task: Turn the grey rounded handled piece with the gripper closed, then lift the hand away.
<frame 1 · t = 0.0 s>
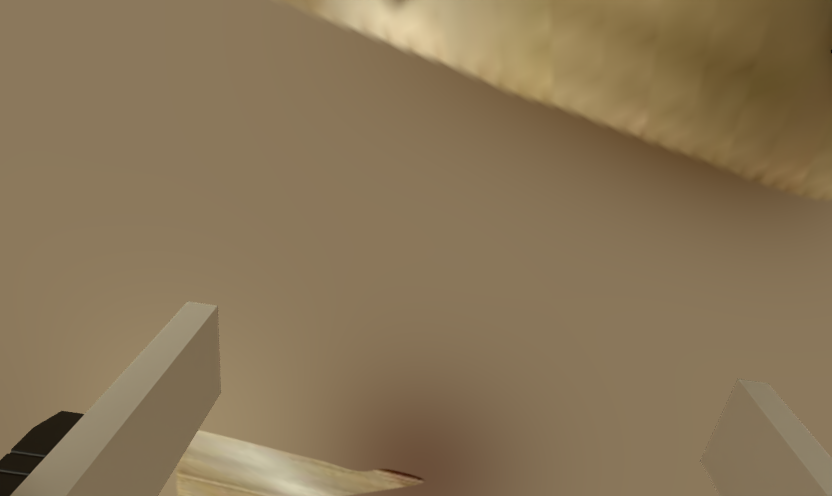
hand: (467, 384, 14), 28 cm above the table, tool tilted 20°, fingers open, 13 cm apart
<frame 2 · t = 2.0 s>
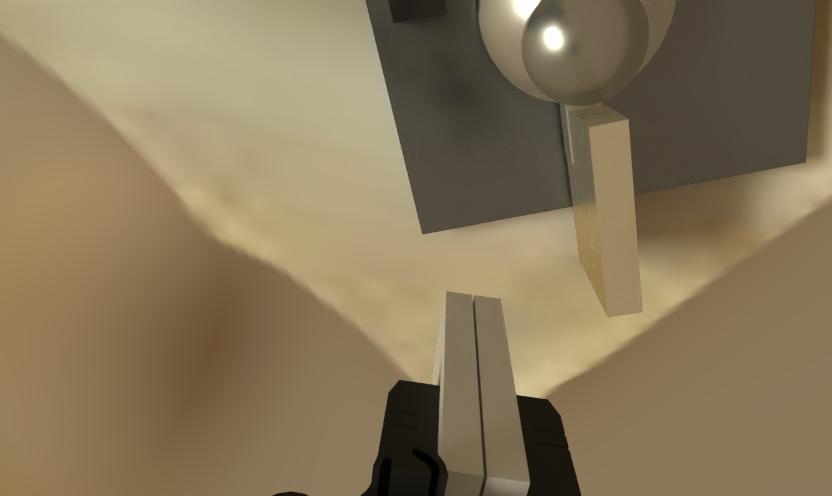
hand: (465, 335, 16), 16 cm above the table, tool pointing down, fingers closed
grey rounded handled piece: (590, 114, 23), point 6 cm above the table, hinge at 0.0°
stand: (578, 21, 27), on the table
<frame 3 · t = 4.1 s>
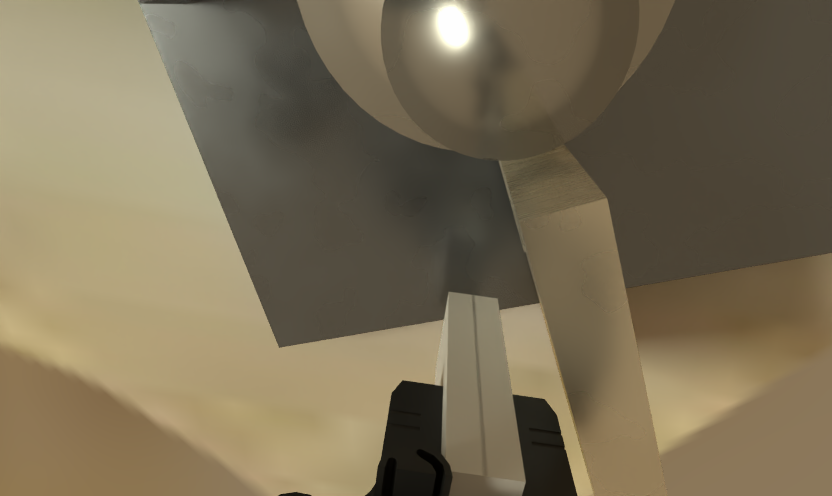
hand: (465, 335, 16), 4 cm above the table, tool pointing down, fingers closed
grey rounded handled piece: (539, 171, 12), point 6 cm above the table, hinge at 5.0°, touching gripper
stand: (515, 0, 16), on the table
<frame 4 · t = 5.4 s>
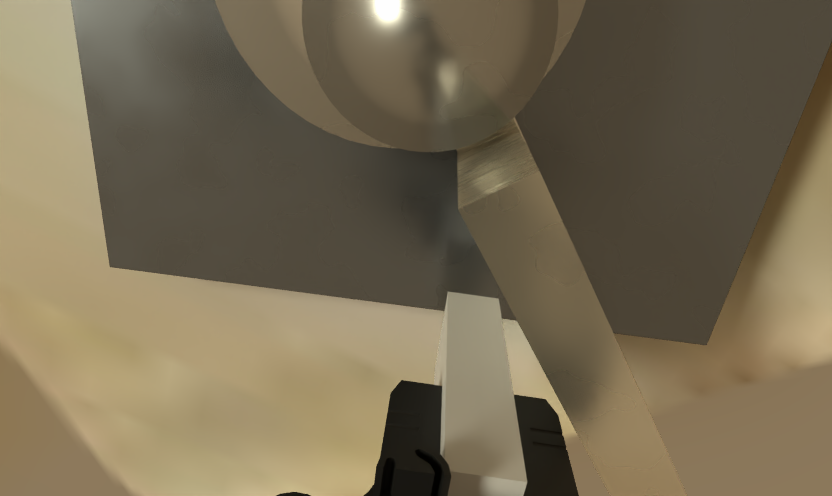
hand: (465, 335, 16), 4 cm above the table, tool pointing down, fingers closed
grey rounded handled piece: (491, 154, 12), point 6 cm above the table, hinge at 34.7°, touching gripper
stand: (443, 10, 16), on the table
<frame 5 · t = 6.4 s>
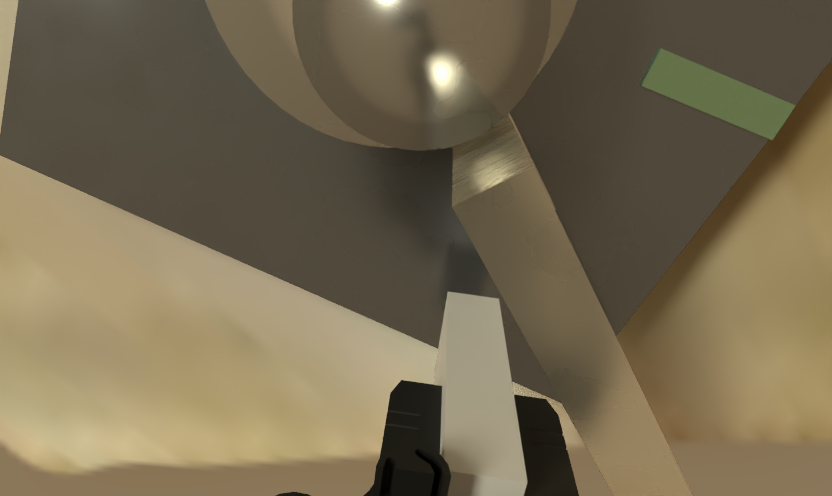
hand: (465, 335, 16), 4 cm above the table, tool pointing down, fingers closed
grey rounded handled piece: (487, 151, 12), point 6 cm above the table, hinge at 54.9°, touching gripper
stand: (422, 18, 16), on the table
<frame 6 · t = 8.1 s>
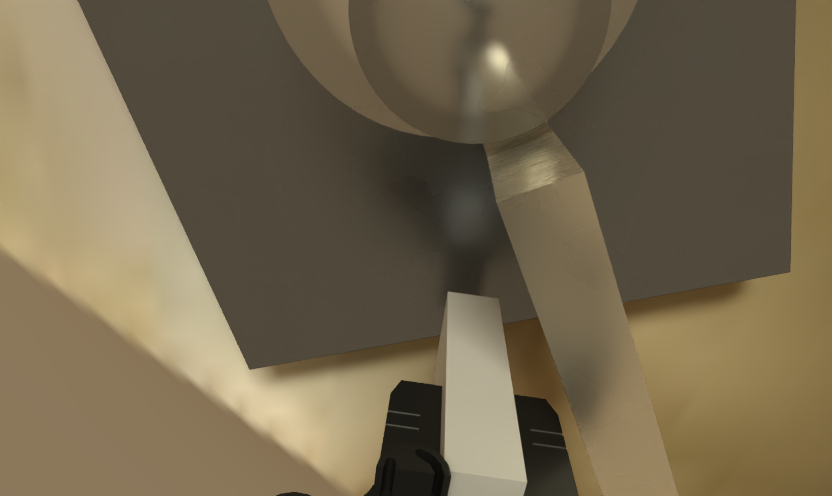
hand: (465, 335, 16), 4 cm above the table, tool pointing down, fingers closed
grey rounded handled piece: (522, 152, 12), point 6 cm above the table, hinge at 97.6°, touching gripper
stand: (426, 4, 16), on the table
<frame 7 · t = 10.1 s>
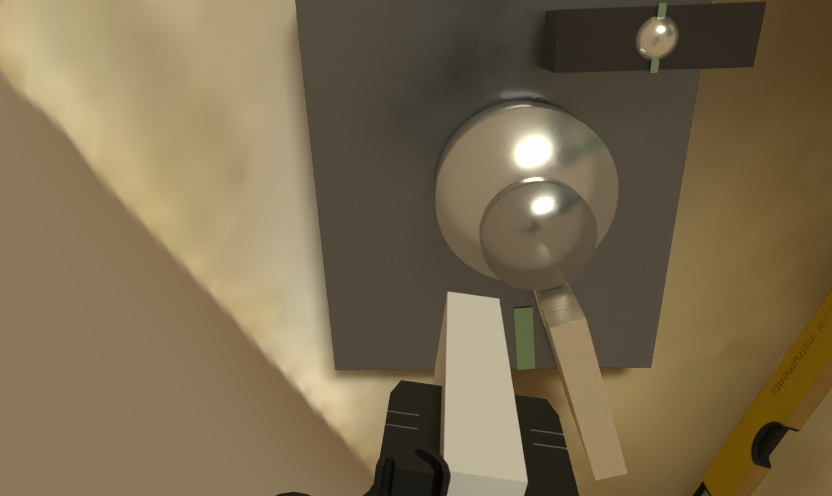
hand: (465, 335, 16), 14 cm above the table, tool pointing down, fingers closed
grey rounded handled piece: (553, 292, 25), point 6 cm above the table, hinge at 107.7°
spirit level: (748, 412, 34), on the table
stand: (491, 190, 29), on the table
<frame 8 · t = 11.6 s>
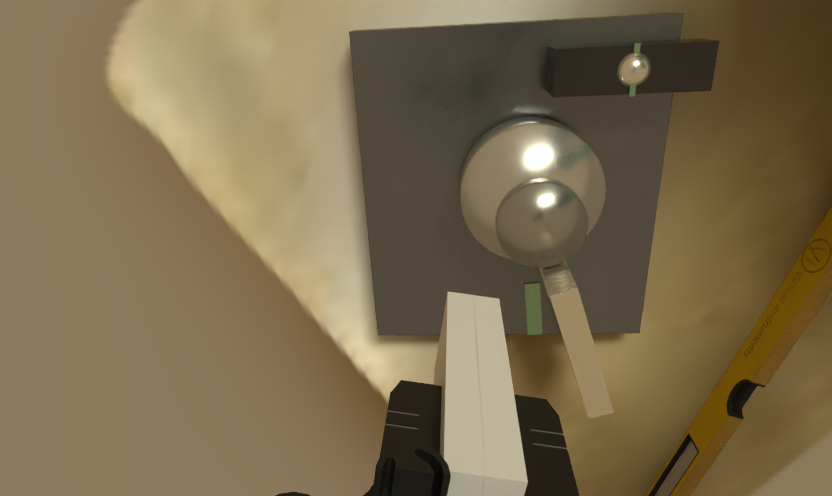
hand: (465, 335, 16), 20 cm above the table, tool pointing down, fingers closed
grey rounded handled piece: (554, 269, 31), point 6 cm above the table, hinge at 107.7°
spirit level: (726, 373, 40), on the table
stand: (505, 187, 35), on the table
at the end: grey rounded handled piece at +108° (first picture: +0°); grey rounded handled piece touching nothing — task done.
